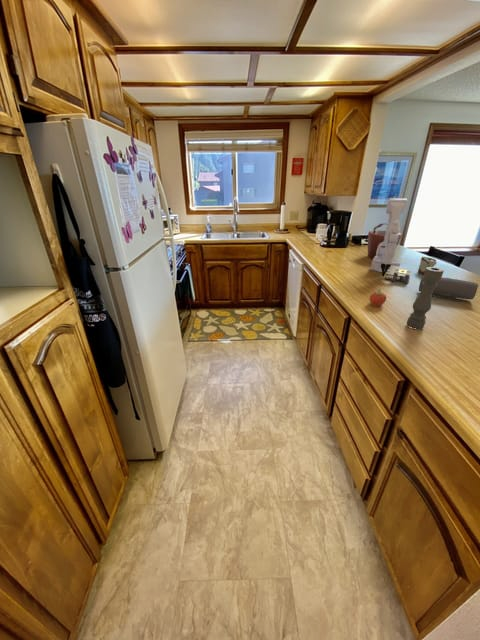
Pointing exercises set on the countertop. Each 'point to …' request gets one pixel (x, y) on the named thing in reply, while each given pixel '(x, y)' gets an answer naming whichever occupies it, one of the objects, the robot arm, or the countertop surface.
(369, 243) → the bucket
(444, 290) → the bluetooth speaker
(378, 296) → the tomato
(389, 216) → the robot arm
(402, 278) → the tube
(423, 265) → the food container
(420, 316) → the candle holder
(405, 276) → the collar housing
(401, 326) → the countertop surface
